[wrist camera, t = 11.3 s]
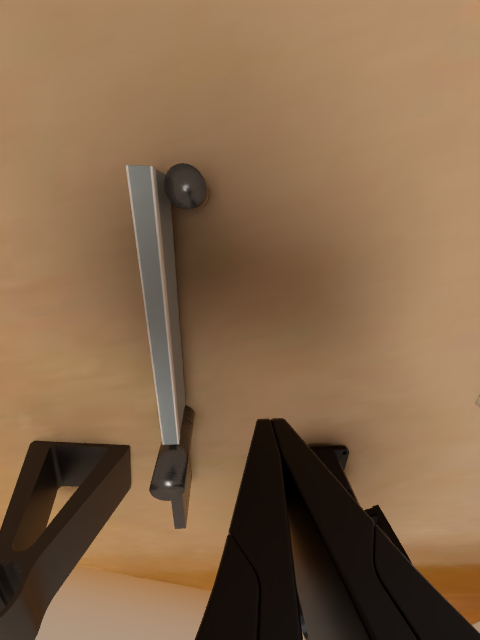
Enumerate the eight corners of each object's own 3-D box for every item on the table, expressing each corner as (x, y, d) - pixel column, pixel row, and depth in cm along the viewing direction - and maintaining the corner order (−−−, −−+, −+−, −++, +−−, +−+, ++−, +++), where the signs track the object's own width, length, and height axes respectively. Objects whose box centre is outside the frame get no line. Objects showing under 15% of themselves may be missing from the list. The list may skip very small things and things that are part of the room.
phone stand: (42, 481, 27) (-84, 673, 16) (33, 440, 24) (-123, 631, 13) (131, 484, 28) (72, 666, 17) (130, 445, 25) (60, 626, 14)
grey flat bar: (186, 402, 23) (178, 444, 19) (173, 402, 23) (162, 444, 19) (170, 176, 16) (152, 166, 12) (150, 176, 16) (125, 165, 12)
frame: (192, 478, 28) (183, 558, 21) (168, 477, 28) (152, 559, 21) (210, 177, 16) (202, 157, 10) (170, 171, 16) (135, 147, 10)
